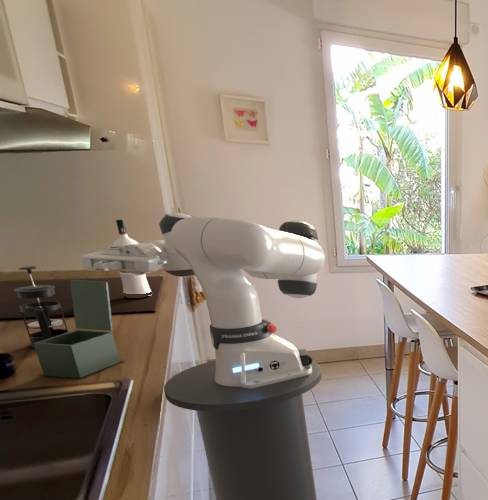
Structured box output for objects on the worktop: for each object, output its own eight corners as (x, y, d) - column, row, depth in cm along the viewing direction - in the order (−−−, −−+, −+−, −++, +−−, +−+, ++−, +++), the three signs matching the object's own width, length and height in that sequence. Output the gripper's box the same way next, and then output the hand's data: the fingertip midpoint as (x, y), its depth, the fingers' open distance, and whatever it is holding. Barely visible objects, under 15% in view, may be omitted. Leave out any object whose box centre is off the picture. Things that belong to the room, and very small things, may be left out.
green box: (80, 378, 140) (70, 345, 137) (43, 375, 141) (33, 343, 138) (120, 362, 151) (112, 331, 148) (86, 359, 152) (77, 329, 149)
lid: (105, 281, 145) (107, 281, 146) (69, 279, 146) (72, 279, 147) (110, 330, 148) (113, 330, 148) (75, 328, 149) (78, 328, 149)
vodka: (151, 293, 226) (133, 218, 215) (153, 297, 219) (135, 220, 208) (123, 296, 220) (103, 218, 209) (125, 300, 213) (105, 221, 202)
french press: (32, 341, 165) (7, 265, 156) (72, 336, 170) (50, 262, 162) (29, 352, 156) (3, 271, 148) (71, 346, 162) (48, 269, 153)
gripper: (174, 271, 161) (136, 280, 149) (110, 268, 163) (68, 276, 151) (169, 250, 159) (131, 257, 146) (105, 246, 161) (61, 253, 148)
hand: (98, 267), depth 148 cm, fingers closed
